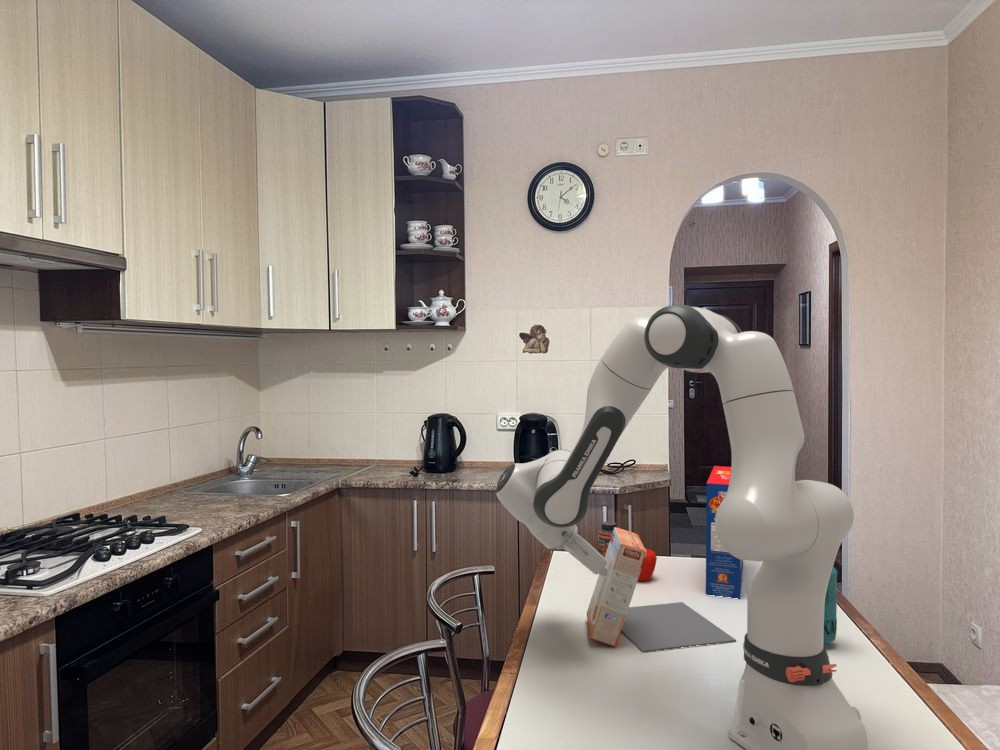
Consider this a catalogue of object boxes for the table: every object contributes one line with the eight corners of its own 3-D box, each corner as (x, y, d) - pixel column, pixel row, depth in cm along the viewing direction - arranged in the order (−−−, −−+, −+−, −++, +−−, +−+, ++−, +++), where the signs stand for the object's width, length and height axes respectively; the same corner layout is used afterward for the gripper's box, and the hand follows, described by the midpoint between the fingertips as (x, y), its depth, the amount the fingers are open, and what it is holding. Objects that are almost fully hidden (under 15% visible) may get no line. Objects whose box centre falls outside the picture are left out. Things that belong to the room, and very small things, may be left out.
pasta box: (713, 562, 191) (714, 465, 190) (743, 566, 188) (744, 467, 187) (705, 595, 165) (706, 483, 164) (740, 599, 162) (741, 485, 161)
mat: (736, 641, 138) (736, 639, 138) (642, 652, 133) (642, 650, 133) (682, 603, 159) (682, 602, 159) (600, 611, 154) (600, 610, 154)
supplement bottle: (594, 562, 191) (594, 523, 191) (603, 557, 196) (603, 519, 196) (613, 566, 188) (613, 526, 188) (622, 560, 193) (622, 522, 193)
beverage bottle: (798, 636, 141) (799, 541, 140) (832, 638, 139) (833, 543, 139) (805, 649, 134) (806, 550, 134) (841, 652, 133) (842, 552, 132)
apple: (615, 578, 177) (615, 549, 177) (635, 571, 183) (635, 543, 183) (643, 587, 171) (643, 556, 171) (663, 579, 177) (663, 550, 177)
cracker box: (617, 649, 135) (648, 551, 134) (588, 639, 135) (619, 542, 134) (611, 622, 149) (639, 533, 148) (585, 613, 149) (613, 525, 148)
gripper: (584, 528, 130) (630, 573, 132) (550, 505, 149) (591, 544, 152) (562, 553, 129) (609, 597, 131) (531, 526, 148) (572, 565, 151)
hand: (599, 569), depth 142 cm, fingers open, 3 cm apart
